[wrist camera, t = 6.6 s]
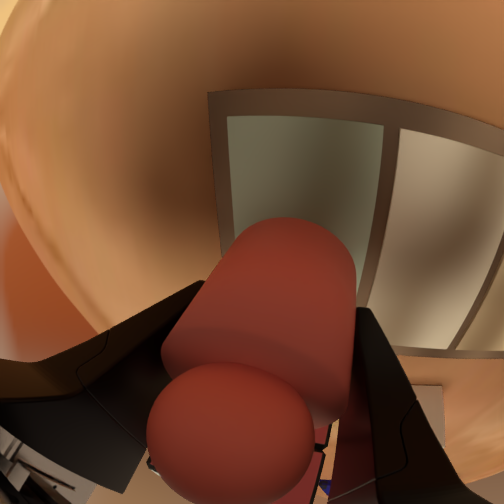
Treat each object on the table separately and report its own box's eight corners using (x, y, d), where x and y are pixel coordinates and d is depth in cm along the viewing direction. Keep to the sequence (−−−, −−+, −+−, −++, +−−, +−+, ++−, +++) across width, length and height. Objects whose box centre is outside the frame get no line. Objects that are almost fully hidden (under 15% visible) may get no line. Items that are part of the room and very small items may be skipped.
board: (619, 202, 3) (628, 210, 2) (554, 345, 9) (558, 356, 8) (218, 91, 10) (205, 92, 9) (236, 316, 16) (229, 330, 15)
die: (441, 385, 14) (445, 451, 10) (415, 415, 17) (412, 471, 13) (381, 383, 16) (375, 453, 11) (362, 412, 18) (353, 470, 14)
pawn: (367, 227, 7) (350, 536, 2) (343, 332, 10) (301, 530, 4) (222, 210, 9) (48, 416, 3) (232, 313, 11) (143, 479, 5)
